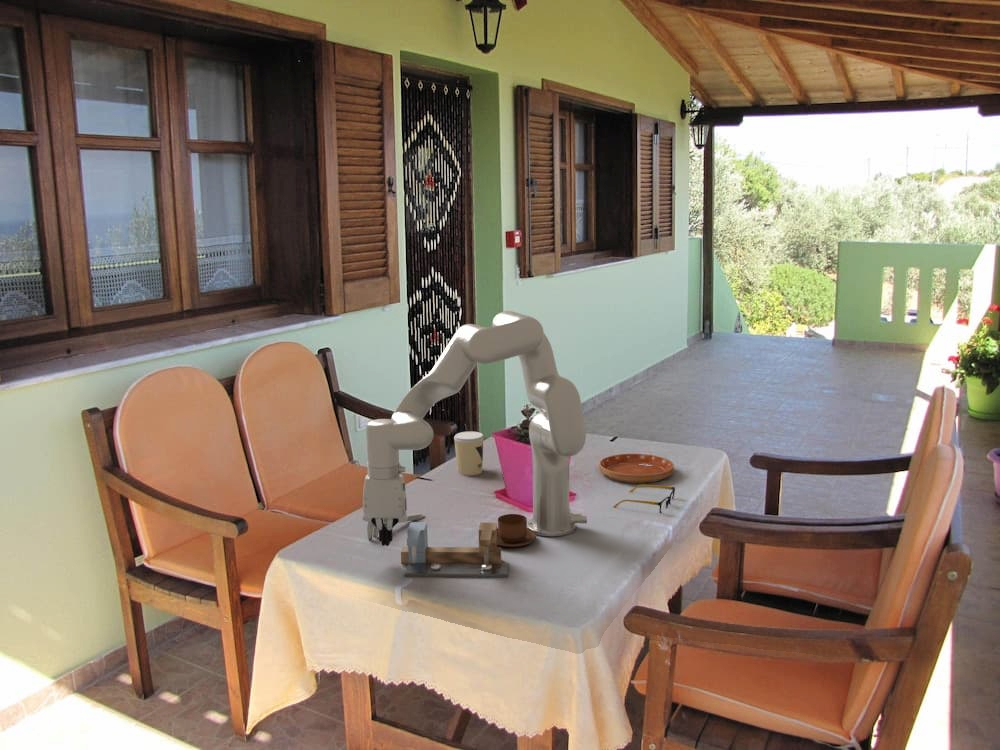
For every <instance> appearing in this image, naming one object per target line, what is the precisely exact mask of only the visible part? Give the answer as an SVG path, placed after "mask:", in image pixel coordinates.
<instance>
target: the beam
mask: <svg viewBox="0 0 1000 750" xmlns="http://www.w3.org/2000/svg"><path fill="white" fill-rule="evenodd" d="M497 528H498V522H480V523H479V526H478V547H475V546H473V547H471V546H470V547H468V546H467V547H466V546H464V547H463V546H462V547H461V546H460V547H459V546H458V547H457V546H455V547H454V546H452V547H451V546H450V547H448V546H446V547H445V546H440V547H439V546H438V547H437V546H428V547H427V548H426V550H425V557H426V563H485V564H502V547H498V545H497ZM400 561H401V562H400V563H401V564H407V565H408V563H409V556H408V546H402V548H401V550H400Z"/></svg>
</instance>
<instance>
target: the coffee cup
mask: <svg viewBox="0 0 1000 750" xmlns="http://www.w3.org/2000/svg"><path fill="white" fill-rule="evenodd" d="M453 439H454V440H453V441H454V449H455V450H454V451H455V459H456V468H457V473H458V474H459V475H460V476H461V475H462V476H469V477H470V476H477V475H480V474H481V473H482V471H483V457H484V440H485V437H484V435H483V433H481V432H480V431H479V432H478V431H462V432H458V433H456V434H455V435H454V437H453Z"/></svg>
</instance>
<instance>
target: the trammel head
mask: <svg viewBox="0 0 1000 750" xmlns="http://www.w3.org/2000/svg"><path fill="white" fill-rule="evenodd" d="M428 538H429V537H428V522H425V521H424V522H423V521H422V522H419V521H418V522H417V521H410V522H409V525H408V528H407V538H406V547H408V556H409V563H426V557H425V550H426V548H427V547H429V542H428Z"/></svg>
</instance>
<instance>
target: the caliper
mask: <svg viewBox="0 0 1000 750" xmlns="http://www.w3.org/2000/svg"><path fill="white" fill-rule="evenodd" d="M407 517H408V519H407V521H405V522H404V523H407V522H414V521H418V520H421V519H423V518H426V515H424V514H423V513H419V512H418V513H413V514H407ZM383 521H384V525H385V526H386V527H387V523H388V518H383ZM366 527H367V528H366V529H367V530H366V531H367V539H369V540H373V538H374V537H375V539H376V537H377V538H378V537H379V530H378V529H377V527H376V526H375V525H374V524H373V523H372V522H367V526H366Z"/></svg>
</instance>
